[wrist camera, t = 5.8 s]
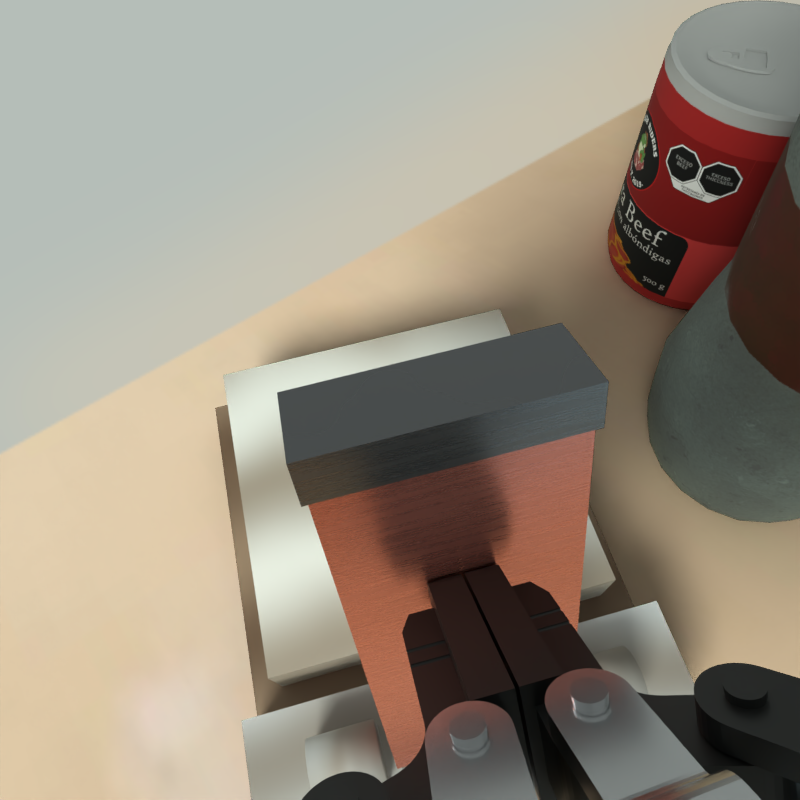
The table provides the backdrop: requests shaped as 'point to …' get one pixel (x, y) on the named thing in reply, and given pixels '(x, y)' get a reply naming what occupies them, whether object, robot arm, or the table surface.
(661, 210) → the canned food
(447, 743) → the robot arm
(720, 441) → the bottle
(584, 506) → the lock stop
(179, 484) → the table surface
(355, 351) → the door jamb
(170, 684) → the table surface
